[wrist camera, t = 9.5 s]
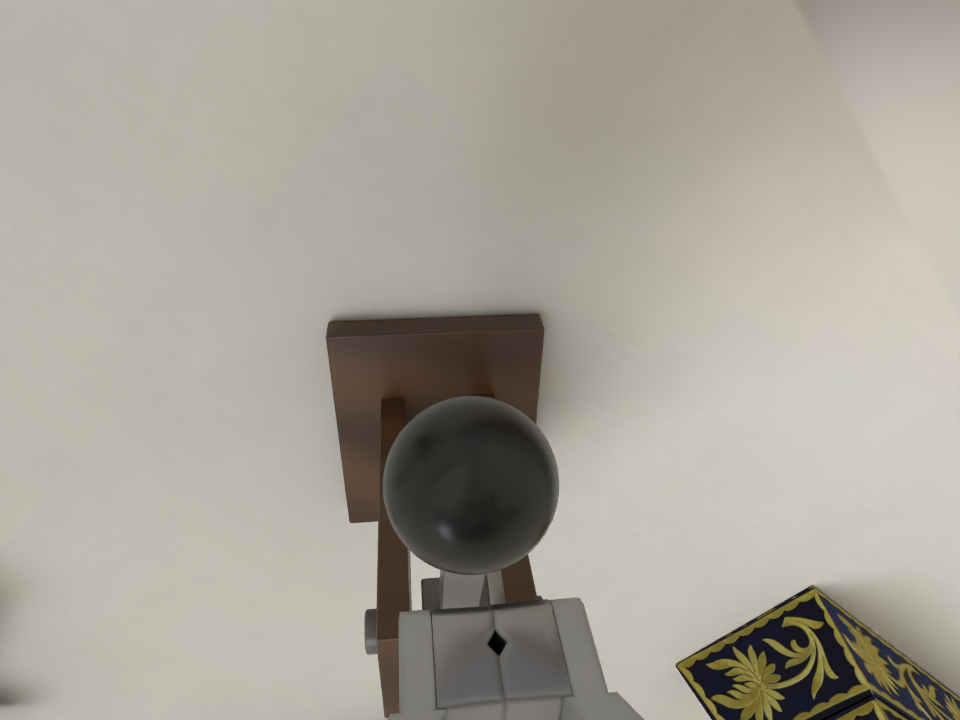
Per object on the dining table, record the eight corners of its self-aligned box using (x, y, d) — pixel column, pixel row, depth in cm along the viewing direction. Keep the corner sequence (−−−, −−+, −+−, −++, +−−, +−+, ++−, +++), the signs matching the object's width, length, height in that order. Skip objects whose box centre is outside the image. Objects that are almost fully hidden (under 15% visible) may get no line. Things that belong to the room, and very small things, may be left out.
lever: (376, 365, 13) (377, 543, 11) (556, 357, 14) (589, 527, 12) (402, 587, 25) (405, 695, 23) (499, 580, 25) (510, 685, 23)
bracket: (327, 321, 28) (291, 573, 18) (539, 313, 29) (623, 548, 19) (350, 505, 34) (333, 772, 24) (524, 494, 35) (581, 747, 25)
